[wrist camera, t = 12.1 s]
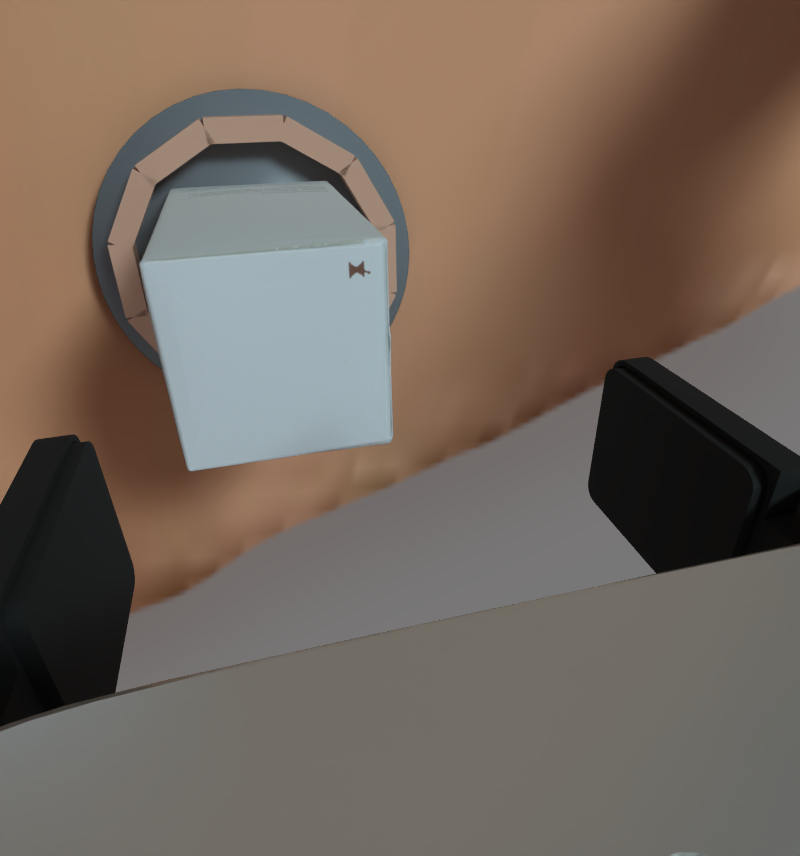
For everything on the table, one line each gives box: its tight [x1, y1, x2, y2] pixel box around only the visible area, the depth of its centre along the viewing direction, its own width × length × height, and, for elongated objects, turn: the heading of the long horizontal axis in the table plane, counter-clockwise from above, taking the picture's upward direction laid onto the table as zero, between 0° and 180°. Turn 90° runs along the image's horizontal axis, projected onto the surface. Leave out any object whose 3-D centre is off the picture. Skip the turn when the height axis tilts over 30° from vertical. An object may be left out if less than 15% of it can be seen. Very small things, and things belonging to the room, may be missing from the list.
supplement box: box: [139, 181, 393, 471], centre depth 24 cm, size 7×7×13 cm
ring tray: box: [92, 89, 409, 369], centre depth 30 cm, size 15×15×2 cm
